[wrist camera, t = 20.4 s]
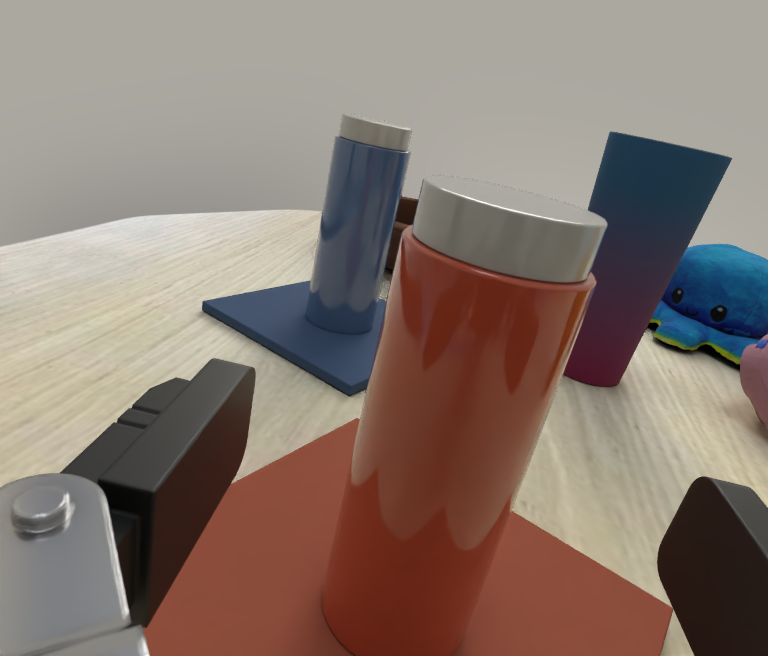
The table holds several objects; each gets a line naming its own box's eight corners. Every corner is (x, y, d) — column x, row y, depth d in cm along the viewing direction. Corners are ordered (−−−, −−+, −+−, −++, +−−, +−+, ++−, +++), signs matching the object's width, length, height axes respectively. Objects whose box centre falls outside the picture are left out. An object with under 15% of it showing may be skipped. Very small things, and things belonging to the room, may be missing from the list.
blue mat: (349, 396, 28) (351, 386, 28) (201, 309, 34) (202, 300, 34) (461, 344, 38) (463, 336, 38) (330, 283, 44) (331, 276, 43)
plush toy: (777, 336, 58) (818, 259, 54) (830, 401, 43) (890, 301, 40) (613, 286, 62) (641, 213, 59) (609, 330, 47) (646, 235, 44)
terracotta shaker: (351, 694, 14) (485, 213, 9) (303, 558, 17) (383, 162, 13) (494, 652, 16) (665, 237, 11) (425, 538, 19) (532, 187, 15)
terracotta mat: (490, 1218, 8) (501, 1205, 8) (25, 607, 15) (25, 591, 15) (667, 620, 19) (674, 607, 19) (354, 427, 26) (357, 417, 26)
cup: (518, 341, 41) (589, 127, 35) (600, 351, 42) (680, 148, 37) (560, 388, 35) (654, 139, 29) (653, 398, 36) (760, 163, 30)
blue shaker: (343, 340, 33) (385, 125, 28) (290, 312, 35) (322, 109, 30) (386, 325, 36) (430, 132, 32) (336, 301, 39) (370, 117, 34)
